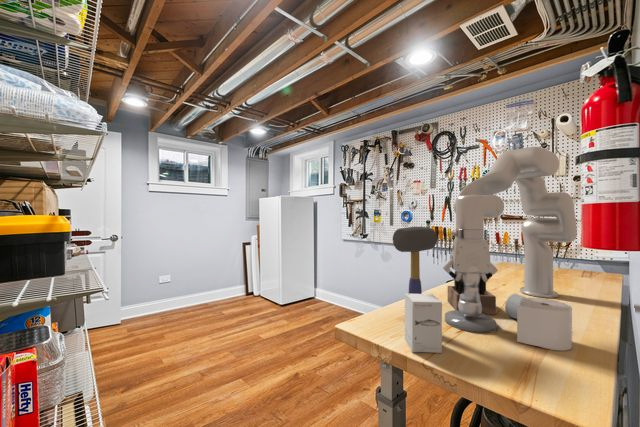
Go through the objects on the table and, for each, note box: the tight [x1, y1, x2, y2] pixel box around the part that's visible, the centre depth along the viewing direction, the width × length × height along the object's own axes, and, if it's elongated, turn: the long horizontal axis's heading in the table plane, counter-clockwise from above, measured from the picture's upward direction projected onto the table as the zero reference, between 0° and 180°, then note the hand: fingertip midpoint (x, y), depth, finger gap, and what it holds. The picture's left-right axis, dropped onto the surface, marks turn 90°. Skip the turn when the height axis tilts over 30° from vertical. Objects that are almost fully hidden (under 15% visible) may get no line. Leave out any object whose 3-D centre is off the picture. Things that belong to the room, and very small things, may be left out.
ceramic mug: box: [504, 293, 527, 320], centre depth 87 cm, size 11×8×8 cm
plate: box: [444, 309, 498, 334], centre depth 85 cm, size 14×14×2 cm
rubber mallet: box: [392, 226, 438, 294], centre depth 83 cm, size 12×8×30 cm, turn 119°
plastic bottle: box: [458, 267, 482, 317], centre depth 86 cm, size 6×7×20 cm
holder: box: [447, 285, 497, 315], centre depth 99 cm, size 12×12×6 cm
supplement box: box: [404, 293, 443, 354], centre depth 71 cm, size 7×7×13 cm
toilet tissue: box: [516, 297, 573, 351], centre depth 73 cm, size 11×12×10 cm
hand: (469, 292), depth 86 cm, fingers closed on plastic bottle, 5 cm apart
